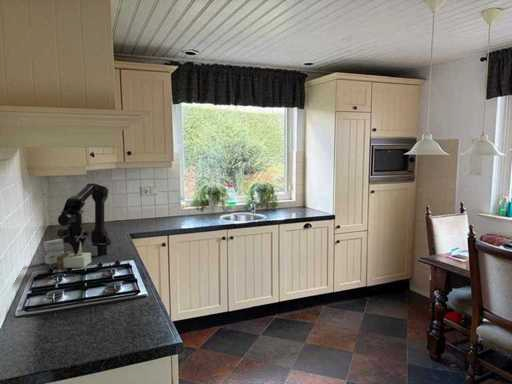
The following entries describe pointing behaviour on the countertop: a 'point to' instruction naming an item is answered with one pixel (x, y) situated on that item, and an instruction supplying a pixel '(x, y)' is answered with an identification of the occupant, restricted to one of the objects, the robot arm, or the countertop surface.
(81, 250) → the dowel
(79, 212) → the robot arm
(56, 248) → the ink box
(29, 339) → the countertop surface
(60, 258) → the wall board
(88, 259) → the socket block
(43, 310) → the countertop surface
